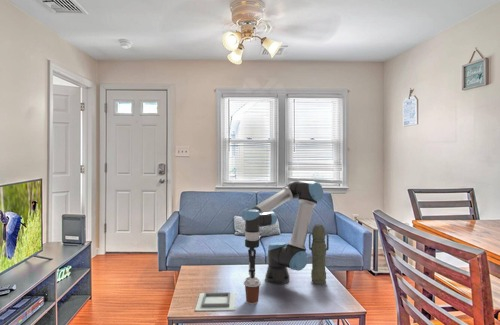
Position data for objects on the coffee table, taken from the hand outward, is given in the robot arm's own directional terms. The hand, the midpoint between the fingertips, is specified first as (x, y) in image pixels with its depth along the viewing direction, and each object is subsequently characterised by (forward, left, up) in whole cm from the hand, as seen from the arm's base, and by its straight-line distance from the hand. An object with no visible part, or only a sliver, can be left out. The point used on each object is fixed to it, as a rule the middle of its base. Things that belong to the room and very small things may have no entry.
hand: (251, 279), depth 168 cm
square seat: (+19, 0, -12) cm, 22 cm away
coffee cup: (0, 0, -12) cm, 12 cm away
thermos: (-42, -25, -12) cm, 51 cm away
